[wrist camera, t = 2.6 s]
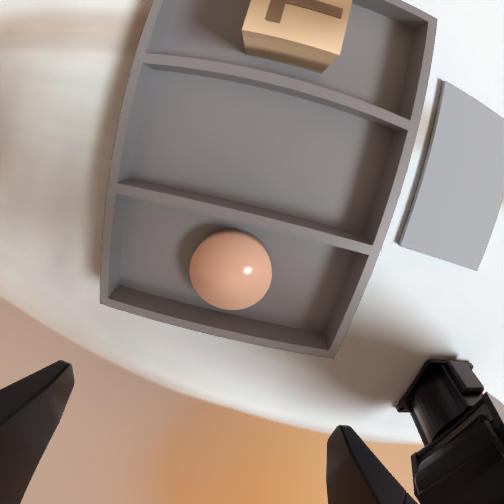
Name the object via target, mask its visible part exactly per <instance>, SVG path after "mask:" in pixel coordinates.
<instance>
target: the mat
mask: <svg viewBox="0 0 504 504" xmlns="http://www.w3.org/2000/svg"><path fill="white" fill-rule="evenodd" d="M503 196H504V119H503V118H502V117H501V116H499V115H498V114H497V113H495V112H494V111H492V110H491V109H489V108H488V107H486V106H485V105H484V104H482V103H481V102H479V101H478V100H476V99H474V98H473V97H471V96H470V95H468V94H467V93H465V92H463V91H462V90H460V89H458V88H457V87H455V86H453V85H452V84H450V83H448V82H447V81H444V82H443V83H442V89H441V94H440V99H439V104H438V109H437V114H436V118H435V123H434V127H433V131H432V136H431V140H430V144H429V148H428V151H427V155H426V159H425V163H424V166H423V170H422V173H421V177H420V180H419V183H418V187H417V190H416V193H415V196H414V200H413V203H412V206H411V209H410V212H409V215H408V218H407V221H406V224H405V226H404V229H403V232H402V235H401V238H400V240H399V243H398V245H399V246H401V247H404V248H408V249H411V250H414V251H417V252H420V253H424V254H427V255H430V256H433V257H436V258H439V259H442V260H445V261H449V262H452V263H455V264H458V265H461V266H464V267H467V268H470V269H473V270H476V271H477V270H478V267H479V265H480V263H481V260H482V258H483V255H484V253H485V250H486V247H487V245H488V242H489V239H490V237H491V234H492V231H493V228H494V225H495V222H496V219H497V216H498V213H499V210H500V206H501V203H502V200H503Z"/></svg>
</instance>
